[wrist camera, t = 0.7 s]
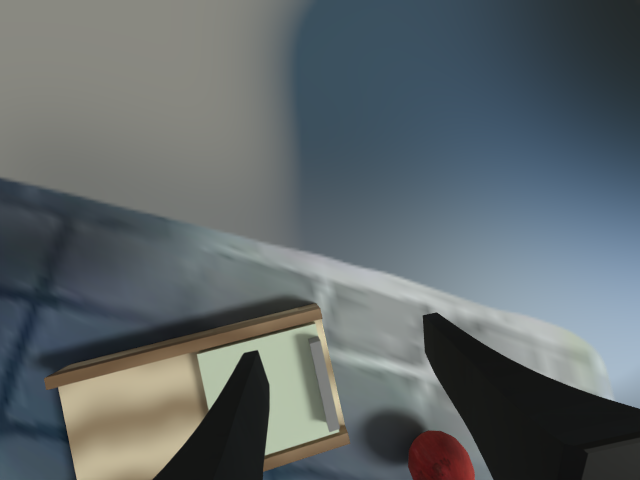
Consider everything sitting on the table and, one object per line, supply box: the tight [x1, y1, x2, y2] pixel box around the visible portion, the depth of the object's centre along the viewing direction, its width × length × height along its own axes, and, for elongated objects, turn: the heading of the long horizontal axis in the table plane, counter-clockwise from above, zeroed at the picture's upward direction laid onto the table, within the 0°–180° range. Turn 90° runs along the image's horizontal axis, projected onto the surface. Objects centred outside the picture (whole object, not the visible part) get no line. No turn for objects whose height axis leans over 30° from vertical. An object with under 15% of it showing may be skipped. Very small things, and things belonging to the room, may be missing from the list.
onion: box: [408, 431, 475, 480], centre depth 29 cm, size 6×6×8 cm
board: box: [44, 303, 350, 480], centre depth 29 cm, size 13×24×3 cm, turn 103°
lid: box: [197, 321, 340, 455], centre depth 28 cm, size 10×11×3 cm
